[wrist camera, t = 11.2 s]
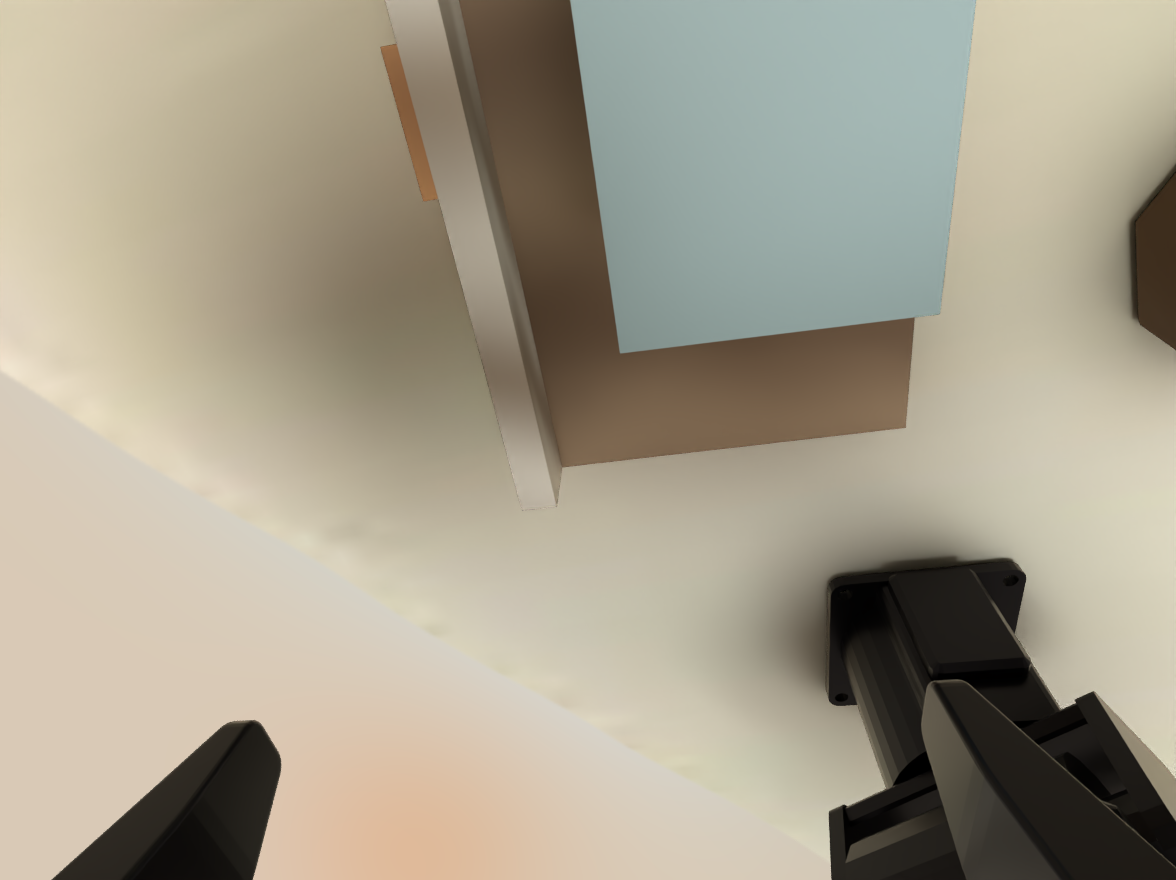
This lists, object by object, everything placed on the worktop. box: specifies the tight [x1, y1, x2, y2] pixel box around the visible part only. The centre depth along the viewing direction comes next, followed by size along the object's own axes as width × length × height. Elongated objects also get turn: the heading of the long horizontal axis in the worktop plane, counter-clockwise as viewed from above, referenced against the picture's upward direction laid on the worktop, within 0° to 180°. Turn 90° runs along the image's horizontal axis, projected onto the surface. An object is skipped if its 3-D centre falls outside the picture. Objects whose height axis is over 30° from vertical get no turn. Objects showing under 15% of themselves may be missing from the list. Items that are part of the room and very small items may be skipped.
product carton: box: [570, 0, 976, 353], centre depth 12 cm, size 5×6×8 cm
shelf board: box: [380, 0, 915, 511], centre depth 15 cm, size 20×11×4 cm, turn 9°
